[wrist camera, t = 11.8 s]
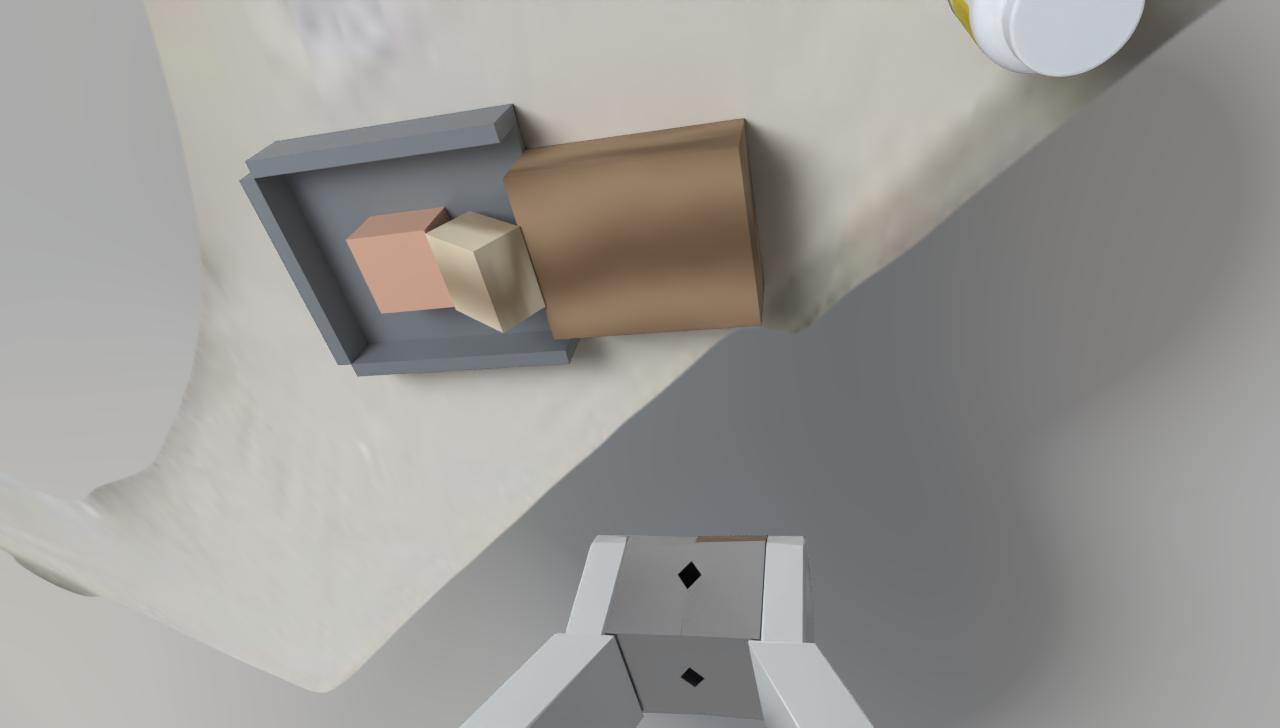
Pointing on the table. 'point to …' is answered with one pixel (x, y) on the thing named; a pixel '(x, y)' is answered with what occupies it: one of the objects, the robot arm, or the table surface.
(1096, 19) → the supplement bottle
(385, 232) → the salmon pink square block
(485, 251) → the cream wooden block
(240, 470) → the table surface
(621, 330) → the brown wooden slab
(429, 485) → the table surface
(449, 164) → the tray
